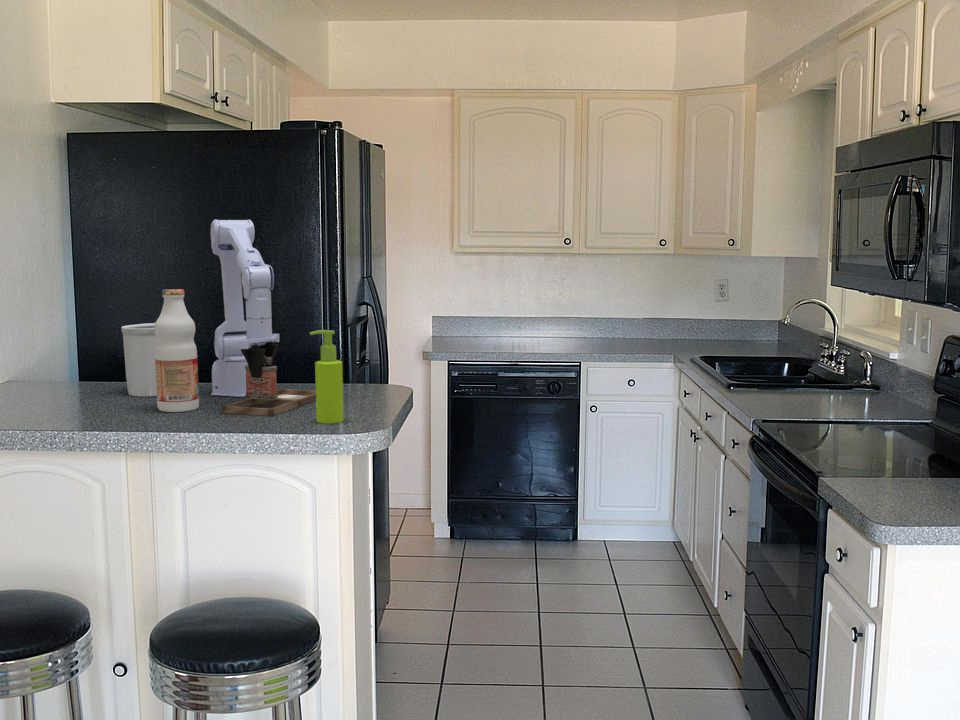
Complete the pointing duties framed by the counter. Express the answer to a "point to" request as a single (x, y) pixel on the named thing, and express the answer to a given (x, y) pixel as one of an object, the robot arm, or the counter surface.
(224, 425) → the counter surface
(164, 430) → the counter surface
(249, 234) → the robot arm
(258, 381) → the lighter
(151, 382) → the utensil holder
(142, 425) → the counter surface
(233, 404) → the tray
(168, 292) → the fruit juice
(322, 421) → the soap dispenser
